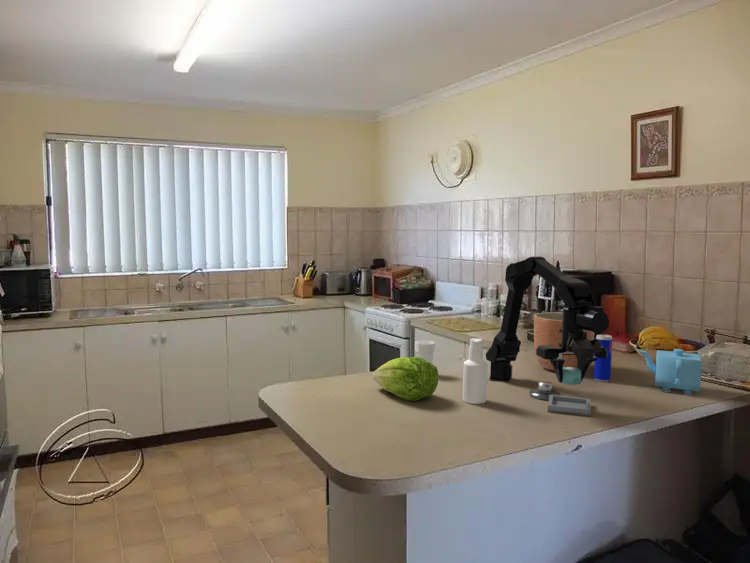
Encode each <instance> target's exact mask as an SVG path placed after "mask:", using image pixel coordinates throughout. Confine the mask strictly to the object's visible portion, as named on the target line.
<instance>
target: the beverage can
mask: <svg viewBox="0 0 750 563" xmlns="http://www.w3.org/2000/svg"><path fill="white" fill-rule="evenodd" d="M595 340H599V341H600V342H601V346H602V347H605V348H606V350H607V358H597V357H596V356H595V358H596V359H597V361H594V362H593V363H594V366H593V378H594V380H595V381H596V382H597V381H598V382H602V383H606V382H607V383H608V382H610V380H611V376H612V375H611V373H612V356H613V355H612V354H613V353H612V352H613V336H612V335H609V334H602V333H600V334H596V337H595Z"/></svg>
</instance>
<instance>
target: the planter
mask: <svg viewBox="0 0 750 563" xmlns="http://www.w3.org/2000/svg"><path fill="white" fill-rule="evenodd" d="M562 321H563V312H558V311H556V312H552V311H551V312H549V311H547V312H546V311H545V312H538V313H535V314H534V315H533V345H534V346H533V347H534V355H535V359H536V361H537V362H538V363H539V364H540V366H542V367H543V368H544V369H546V370H547V371H552V372H555V370H554V368H553V366H552V364H551V362H550V360H549V359H543V358H541V357H539V356H537V355H536V349H537V348H538V346H539V345H551V346H553V347H555V348H561V347H559V343H561V340H562V333H560V329H562ZM584 332H586V334H587V340H595V333H596V332H592V331H588V330H584ZM566 352H568V351H566ZM562 359H563V360H565V362H564V364H563V367H573V368H577V357H576V356H575V355H562Z"/></svg>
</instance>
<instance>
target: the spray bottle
mask: <svg viewBox="0 0 750 563" xmlns="http://www.w3.org/2000/svg"><path fill="white" fill-rule="evenodd" d="M469 341H470V342H469V348H468V349H469V350H468V359H467V360H465V361H464V362H463V369H462V370H463V371H462V372H463V374H462V376H463V377H462V400H463V402H464V403H467V404H471V405H481V404H484V403H486V402H487V393H488V391H487V388H488V387H487V386H488V366H489V365H488V363H487V362H486V361H484V347H483V338H473V337H472V338H470V340H469Z"/></svg>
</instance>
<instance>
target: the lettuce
mask: <svg viewBox="0 0 750 563" xmlns="http://www.w3.org/2000/svg"><path fill="white" fill-rule="evenodd" d="M372 378H373V380H374V381H375V382H376V383H377V384H378V385H379V386H380V387H381V388H382V389H384V390H385V391H386V392H390V393H391V394H393V395H395V396H396V397H398V398H400V399H403V400H405V401H409V402H411V401H412V402H416V401H419V400H423V399H424V398H426V397H428V396H431V395H432V394H434V392H436V390H437V388H438V385H439V371H438V367H437V366H436V365H435V364H433V362H432V363H430V362H428V361H426V360H425V359H423V358H420V357H416V356H408V357H407V356H406V357H405V356H401V357H397V358H394V359H391V360H388V361H387V362H385V363H384V364H382V365H380V367H378V368H377V369H376V370H374V372H373V374H372Z"/></svg>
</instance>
